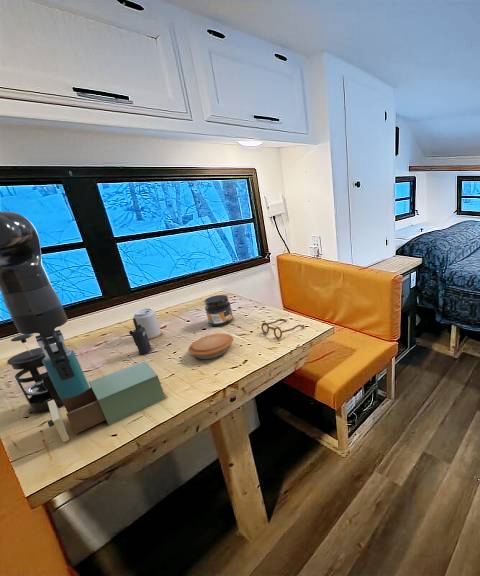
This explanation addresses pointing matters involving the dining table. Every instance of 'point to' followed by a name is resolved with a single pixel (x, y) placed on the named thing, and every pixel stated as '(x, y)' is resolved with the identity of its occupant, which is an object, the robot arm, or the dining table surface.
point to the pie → (211, 346)
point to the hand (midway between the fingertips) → (66, 373)
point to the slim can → (70, 385)
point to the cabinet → (127, 391)
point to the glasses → (278, 328)
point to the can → (148, 322)
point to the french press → (34, 377)
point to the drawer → (77, 413)
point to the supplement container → (218, 310)
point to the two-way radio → (140, 338)
